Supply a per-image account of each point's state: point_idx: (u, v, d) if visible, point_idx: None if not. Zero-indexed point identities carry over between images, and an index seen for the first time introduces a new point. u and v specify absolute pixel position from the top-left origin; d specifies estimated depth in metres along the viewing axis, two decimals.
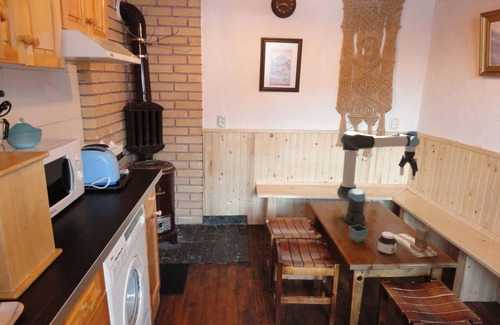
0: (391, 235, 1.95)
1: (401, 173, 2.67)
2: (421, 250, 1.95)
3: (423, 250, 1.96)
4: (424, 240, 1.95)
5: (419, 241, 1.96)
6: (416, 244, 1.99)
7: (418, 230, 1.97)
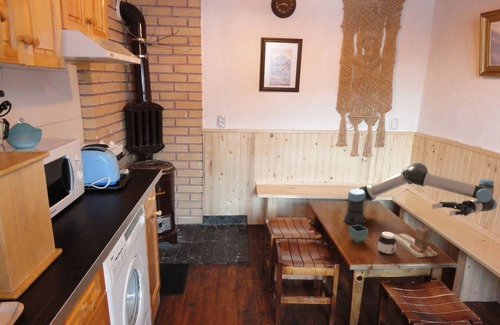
0: (391, 235, 1.95)
1: (435, 205, 2.06)
2: (421, 250, 1.95)
3: (423, 250, 1.96)
4: (424, 240, 1.95)
5: (419, 241, 1.96)
6: (416, 244, 1.99)
7: (418, 230, 1.97)
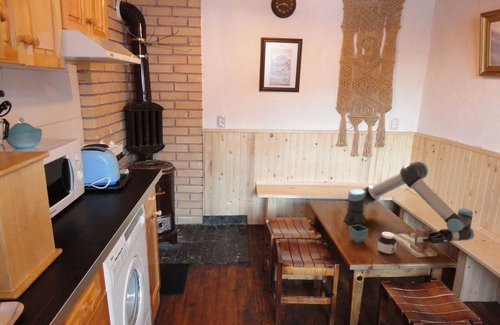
0: (391, 235, 1.95)
1: (413, 235, 1.99)
2: (421, 250, 1.95)
3: (423, 250, 1.96)
4: None
5: None
6: (416, 244, 1.99)
7: (418, 230, 1.97)
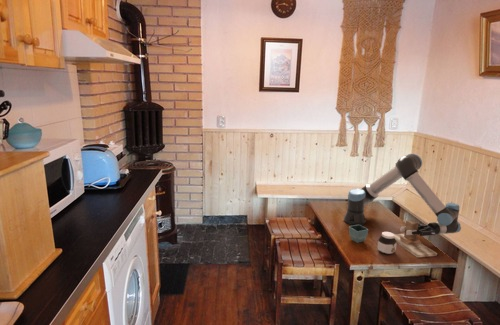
0: (391, 235, 1.95)
1: (403, 228, 2.10)
2: (410, 242, 2.05)
3: (412, 242, 2.06)
4: None
5: None
6: (406, 236, 2.09)
7: (407, 223, 2.07)
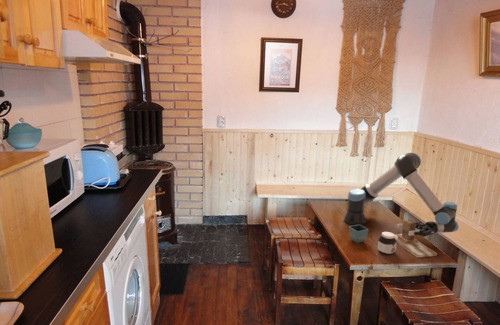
0: (391, 235, 1.95)
1: (400, 225, 2.14)
2: (408, 241, 2.07)
3: (410, 241, 2.07)
4: None
5: (406, 233, 2.08)
6: (403, 235, 2.11)
7: (405, 222, 2.09)
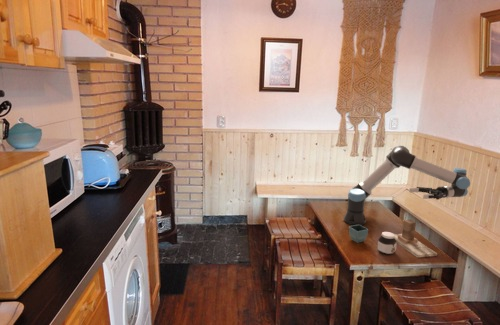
0: (391, 235, 1.95)
1: (412, 190, 2.27)
2: (408, 241, 2.07)
3: (410, 241, 2.07)
4: (410, 231, 2.07)
5: (406, 233, 2.08)
6: (403, 235, 2.11)
7: (405, 222, 2.09)
